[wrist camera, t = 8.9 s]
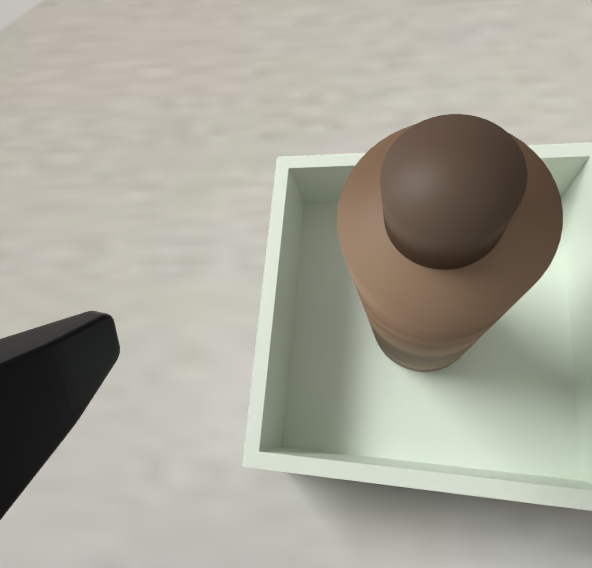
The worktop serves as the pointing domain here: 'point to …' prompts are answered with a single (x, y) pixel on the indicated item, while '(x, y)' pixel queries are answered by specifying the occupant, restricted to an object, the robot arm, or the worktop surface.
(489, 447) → the bin
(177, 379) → the worktop surface
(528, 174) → the mill
